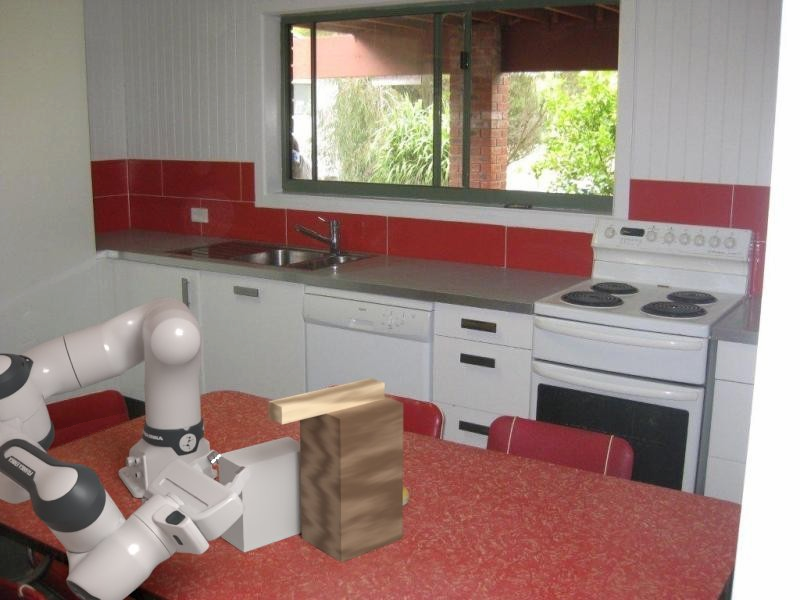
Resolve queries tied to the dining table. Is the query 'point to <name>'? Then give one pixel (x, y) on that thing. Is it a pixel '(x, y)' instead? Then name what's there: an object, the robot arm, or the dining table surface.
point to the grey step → (265, 492)
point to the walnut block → (353, 478)
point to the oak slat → (325, 400)
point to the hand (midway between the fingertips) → (232, 461)
